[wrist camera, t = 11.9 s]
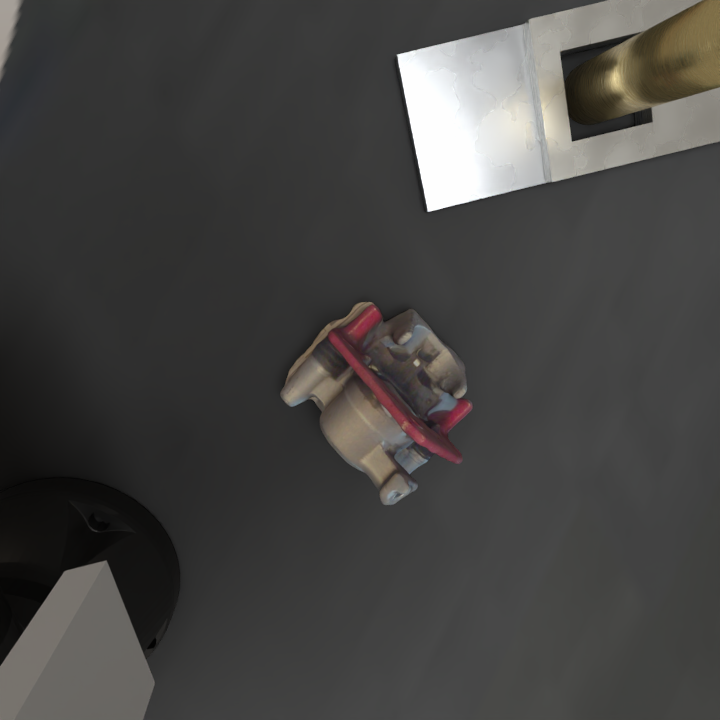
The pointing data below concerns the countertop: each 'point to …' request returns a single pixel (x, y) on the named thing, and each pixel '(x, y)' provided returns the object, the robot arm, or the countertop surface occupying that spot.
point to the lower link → (473, 117)
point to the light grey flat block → (661, 123)
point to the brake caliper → (383, 394)
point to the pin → (649, 67)
